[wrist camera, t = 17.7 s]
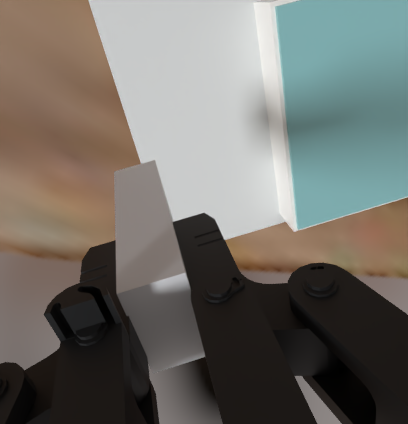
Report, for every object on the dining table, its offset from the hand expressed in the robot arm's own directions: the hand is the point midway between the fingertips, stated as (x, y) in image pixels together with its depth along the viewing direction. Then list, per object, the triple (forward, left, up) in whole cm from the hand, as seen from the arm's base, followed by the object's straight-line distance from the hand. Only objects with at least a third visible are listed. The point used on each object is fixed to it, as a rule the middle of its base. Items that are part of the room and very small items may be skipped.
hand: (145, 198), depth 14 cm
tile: (+1, +7, -6) cm, 9 cm away
